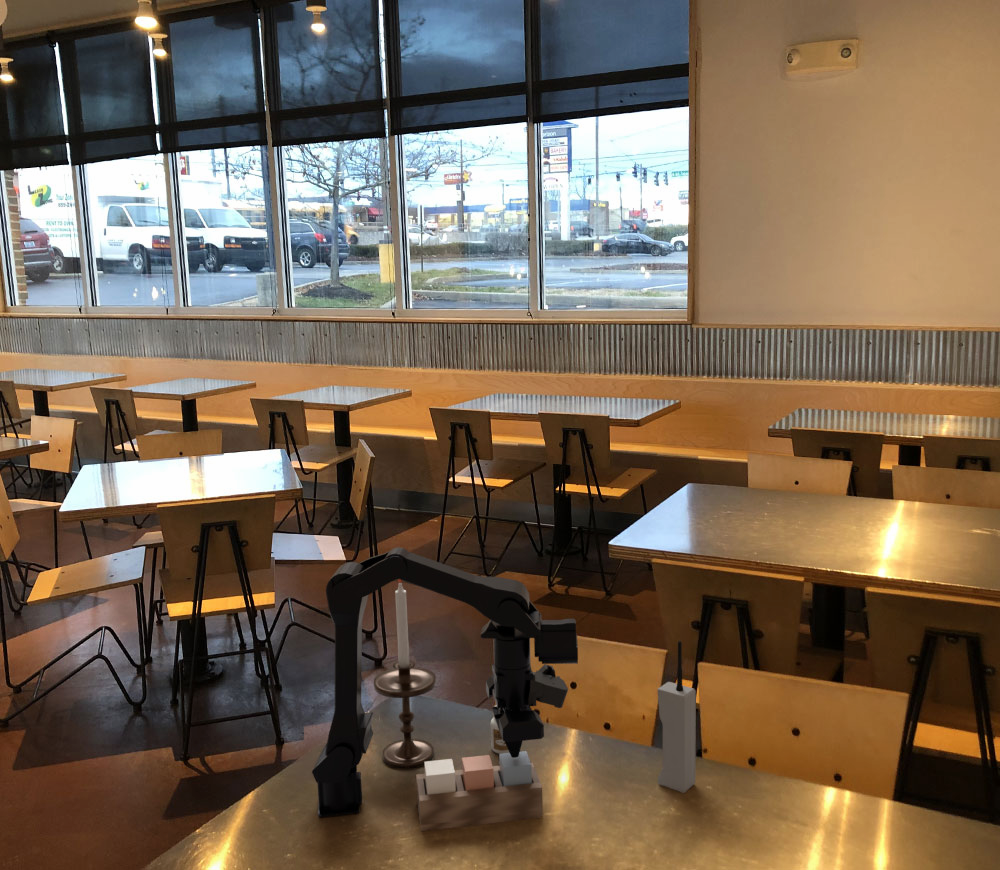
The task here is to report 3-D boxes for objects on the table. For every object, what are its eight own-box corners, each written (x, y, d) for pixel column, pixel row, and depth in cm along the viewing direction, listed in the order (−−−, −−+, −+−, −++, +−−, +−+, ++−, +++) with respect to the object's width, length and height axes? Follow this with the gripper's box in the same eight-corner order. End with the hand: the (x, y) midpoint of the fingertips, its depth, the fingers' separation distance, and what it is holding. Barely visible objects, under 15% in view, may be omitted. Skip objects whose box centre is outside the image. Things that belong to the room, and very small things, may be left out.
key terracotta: (466, 795, 146) (465, 771, 145) (462, 781, 150) (461, 757, 149) (494, 792, 146) (493, 768, 146) (490, 778, 151) (489, 754, 150)
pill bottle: (494, 756, 166) (493, 715, 164) (488, 745, 170) (487, 704, 169) (518, 752, 167) (517, 711, 166) (511, 741, 171) (510, 701, 170)
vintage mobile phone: (668, 775, 158) (668, 633, 154) (695, 784, 154) (696, 639, 151) (657, 784, 155) (656, 640, 151) (684, 794, 152) (684, 647, 148)
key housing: (421, 831, 143) (419, 800, 143) (417, 803, 151) (416, 774, 150) (542, 817, 146) (542, 787, 145) (533, 790, 154) (532, 762, 153)
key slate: (504, 791, 146) (503, 767, 146) (499, 777, 151) (499, 753, 150) (531, 788, 147) (531, 764, 147) (526, 774, 151) (526, 751, 151)
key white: (427, 799, 145) (426, 775, 144) (425, 785, 149) (424, 761, 148) (455, 796, 145) (455, 772, 145) (452, 782, 150) (451, 758, 149)
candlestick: (449, 759, 165) (442, 567, 159) (393, 777, 159) (383, 579, 154) (421, 735, 174) (413, 553, 169) (367, 751, 169) (357, 563, 163)
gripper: (576, 682, 138) (578, 781, 140) (550, 636, 156) (552, 724, 159) (502, 689, 136) (504, 789, 139) (484, 642, 155) (487, 731, 157)
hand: (514, 756), depth 148 cm, fingers closed
